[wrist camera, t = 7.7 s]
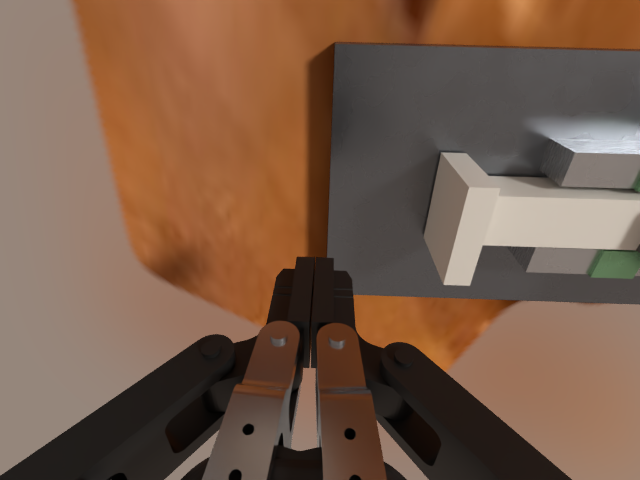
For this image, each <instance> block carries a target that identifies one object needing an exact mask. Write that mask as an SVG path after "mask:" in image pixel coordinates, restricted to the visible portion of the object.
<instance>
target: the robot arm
mask: <svg viewBox="0 0 640 480" xmlns="http://www.w3.org/2000/svg"><path fill="white" fill-rule="evenodd" d="M310 350H311V368H316V387H315V388H316V389H315V390H316V421H317V448H313V449H309V450H305V451H296V450H293V449H291V442H292V435H293V429H294V423H295V417H296V412H297V406H298V400H299V394H300V388H301V382H302V375H303V368H309V363H310ZM376 420H377V421H378V422H379V423H380V425H382V427H383V428H384V429H385V430H386V431H387V432H388V433H389V435H390V436H391V437H392V438H393V439H394V440H395V442H397V444H398V445H399V446H400V447H401V448H402V450H403V451H404V452H405V453H406V454H407V455H408V456H409V457H410V459H412V461H413V462H414V463H415V464H416V465H417V467H418V468H419V469H420V470H421V471H422V472H423V473H424V475H426V477H427V478H428V479H429V480H572V479H571V478H569V477H568V476H567V475H566V474H565V473H563V472H562V471H561V470H560V469H559V468H558V467H556V466H555V465H554V464H553V463H552V462H551V461H549V460H548V459H547V458H546V457H545V456H543V455H542V454H541V453H540V452H539V451H538V450H536V449H535V448H534V447H533V446H532V445H530V444H529V443H528V442H527V441H526V440H524V439H523V438H522V437H521V436H520V435H519V434H517V433H516V432H515V431H514V430H513V429H512V428H510V427H509V426H508V425H507V424H506V423H505V422H503V421H502V420H501V419H500V418H499V417H497V416H496V415H495V414H494V413H493V412H492V411H490V410H489V409H488V408H487V407H486V406H484V405H483V404H482V403H481V402H480V401H479V400H477V399H476V398H475V397H474V396H473V395H472V394H470V393H469V392H468V391H467V390H465V389H464V388H463V387H462V386H461V385H460V384H459V383H457V382H456V381H455V380H454V379H453V378H451V377H450V376H449V375H448V374H447V373H446V372H444V371H443V370H442V369H441V368H440V367H439V366H437V365H436V364H435V363H434V362H433V361H431V360H430V359H429V358H428V357H427V356H426V355H424V354H423V353H422V352H421V351H420V350H419V349H417V348H416V347H414V346H412V345H410V344H407V343H403V342H396V343H391V344H389V345H387V346H386V347H385V348H381V347H378V346H375V345H372V344H370V343H368V342H366V341H364V340H363V339H362V338H361V337H360V336H359V335H358V333H357V331H356V327H355V315H354V299H353V284H352V278H351V277H350V275H349V274H348V272H347V271H339V270H334V258H322V257H316V266H315V257H297V259H296V266H295V269H283V270H282V271H281V272H280V273H279V274H278V276H277V277H276V282H275V288H274V291H273V296H272V300H271V305H270V309H269V314H268V319H267V323H266V325H265V326H264V327H263V328H262V329H261V330H260V332H259V334H258V335H257V336H255V337H253V338H251V339H249V340H245V341H241V342H236V343H233V342H232V341H231V340H230V339H229V338H228V337H226V336H224V335H218V334H215V335H209V336H205V337H203V338H201V339H200V340H198V341H197V342H195V343H194V344H192V345H191V346H189V347H188V348H186V349H185V350H183V351H182V352H180V353H179V354H178V355H176V356H175V357H173V358H172V359H170V360H169V361H167V362H166V363H164V364H163V365H162V366H160V367H159V368H157V369H156V370H154V371H153V372H151V373H150V374H148V375H147V376H145V377H144V378H143V379H141V380H140V381H138V382H137V383H135V384H134V385H132V386H131V387H130V388H128V389H127V390H125V391H123V392H122V393H121V394H119V395H118V396H116V397H115V398H113V399H112V400H110V401H109V402H108V403H106V404H105V405H103V406H102V407H100V408H99V409H97V410H96V411H94V412H93V413H91V414H90V415H89V416H87V417H86V418H84V419H83V420H81V421H80V422H79V423H77V424H75V425H74V426H73V427H71V428H70V429H68V430H67V431H65V432H64V433H62V434H61V435H59V436H58V437H57V438H55V439H53V440H52V441H51V442H49V443H48V444H46V445H45V446H43V447H42V448H40V449H39V450H37V451H36V452H34V453H33V454H32V455H30V456H29V457H27V458H26V459H24V460H23V461H21V462H20V463H18V464H17V465H15V466H14V467H13V468H11V469H10V470H8V471H7V472H5V473H4V474H2V475H1V476H0V480H164V479H165V478H166V477H167V476H169V475H170V474H171V473H172V472H173V471H174V470H175V469H176V468H177V467H178V466H180V465H181V464H182V463H183V462H184V461H185V460H186V459H187V458H188V457H189V456H191V455H192V453H194V452H195V451H196V450H197V449H198V448H199V447H200V446H201V445H203V444H204V443H205V442H206V441H207V440H208V439H209V438H210V437H211V436H212V435H213V434H215V433H216V432H217V431H218V430H219V432H218V435H217V438H216V441H215V444H214V447H213V449H212V452H211V455H210V457H209V458H207V459H205V460H204V461H202V462H201V463H199V464H198V465H196V466H195V467H194V468H193V469H191V470H190V471H189V472H188V473H187V474H186V475H185V476H184V477H183V478H182V479H181V480H406V479H405V478H404V477H403V476H402V475H401V474H400V473H399V472H398V471H397V470H395V469H394V468H393V467H392V466H390V465H389V464H387V463H385V462H384V461H383V456H382V450H381V444H380V438H379V433H378V427H377V421H376Z"/></svg>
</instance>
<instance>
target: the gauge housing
mask: <svg viewBox="0 0 640 480" xmlns="http://www.w3.org/2000/svg"><path fill="white" fill-rule="evenodd" d="M441 152H442V153H467V154H468V155H469V157H470V158H471V159H472V160H473V161H474V162H475V163H476V164H477V165H478V166H479V167H480V168H481V169H482V170H483V171H484V172H485V173H486V174H487V175H488V176H509V177H543V178H551V179H552V180H553V181H555V182H556V183H557V184H559V185H560V186H567V187H600V188H634V190H636V191H640V49H599V48H559V47H518V46H478V45H437V44H397V43H356V42H335V51H334V78H333V105H332V132H331V159H330V186H329V213H328V240H327V258H334V270H339V271H347V272H348V274H349V275H350V277H351V278H352V284H353V295H380V296H409V297H439V298H468V299H497V300H526V301H556V302H585V303H614V304H640V253H639V252H638V251H636V250H613V249H582V248H551V247H520V246H489V245H483V246H482V249H481V252H480V255H479V258H478V262H477V265H476V268H475V271H474V274H473V278H472V281H471V284H470V286H462V285H443V283H442V280H441V278H440V275H439V273H438V271H437V268H436V266H435V263H434V261H433V259H432V256H431V254H430V251H429V249H428V247H427V244H426V242H425V239H424V233H425V228H426V223H427V219H428V214H429V209H430V204H431V199H432V194H433V190H434V185H435V180H436V175H437V170H438V165H439V161H440V156H441Z"/></svg>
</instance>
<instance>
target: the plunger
mask: <svg viewBox="0 0 640 480" xmlns="http://www.w3.org/2000/svg"><path fill="white" fill-rule="evenodd" d="M424 239H425V242H426V244H427V247H428V249H429V251H430V254H431V256H432V259H433V261H434V263H435V266H436V268H437V271H438V273H439V275H440V278H441V280H442V283H443V285H462V286H470V284H471V281H472V278H473V274H474V271H475V268H476V265H477V262H478V258H479V255H480V252H481V249H482V246H483V245H489V246H520V247H551V248H582V249H613V250H636V251H638V252H639V253H640V191H636V190H634V188H600V187H567V186H560V185H559V184H557V183H556V182H555V181H553V180H552V179H551V178H543V177H509V176H488V175H487V174H486V173H485V172H484V171H483V170H482V169H481V168H480V167H479V166H478V165H477V164H476V163H475V162H474V161H473V160H472V159H471V158H470V157H469V155H468V154H467V153H442V152H441V156H440V161H439V165H438V170H437V175H436V180H435V185H434V190H433V194H432V199H431V204H430V209H429V214H428V219H427V223H426V228H425V233H424Z"/></svg>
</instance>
